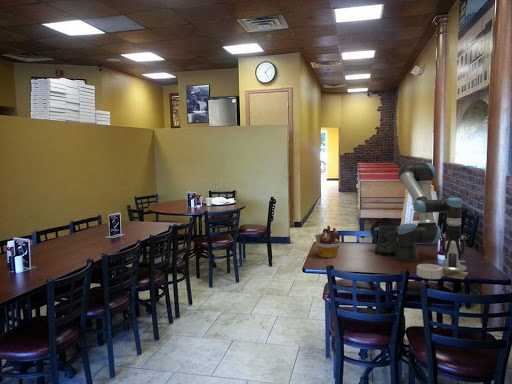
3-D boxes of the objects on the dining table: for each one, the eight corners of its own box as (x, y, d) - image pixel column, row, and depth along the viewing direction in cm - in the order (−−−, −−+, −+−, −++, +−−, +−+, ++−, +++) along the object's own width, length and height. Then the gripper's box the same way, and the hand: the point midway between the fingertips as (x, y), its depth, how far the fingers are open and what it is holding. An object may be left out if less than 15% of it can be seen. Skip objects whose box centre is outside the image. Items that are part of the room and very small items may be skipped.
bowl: (414, 276, 232) (414, 267, 232) (421, 270, 242) (421, 262, 242) (438, 280, 224) (438, 271, 224) (444, 274, 234) (444, 266, 234)
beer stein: (401, 256, 275) (402, 220, 272) (372, 256, 278) (372, 220, 275) (397, 251, 291) (397, 216, 289) (369, 250, 294) (369, 216, 292)
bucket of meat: (338, 260, 269) (338, 230, 267) (313, 259, 274) (313, 230, 272) (341, 253, 288) (341, 225, 286) (317, 252, 293) (317, 224, 291)
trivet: (436, 275, 234) (436, 274, 234) (442, 269, 245) (442, 268, 244) (463, 279, 225) (463, 278, 225) (468, 273, 236) (468, 272, 236)
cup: (455, 266, 251) (455, 240, 249) (462, 269, 243) (463, 243, 241) (442, 266, 251) (442, 241, 249) (448, 270, 243) (449, 244, 241)
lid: (436, 268, 233) (436, 255, 232) (442, 263, 244) (443, 250, 243) (463, 272, 224) (463, 258, 224) (468, 266, 235) (469, 253, 235)
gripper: (435, 224, 234) (435, 263, 236) (469, 227, 224) (468, 268, 226) (439, 222, 240) (438, 261, 242) (472, 225, 230) (470, 265, 232)
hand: (452, 264), depth 234 cm, fingers closed on lid, 4 cm apart
